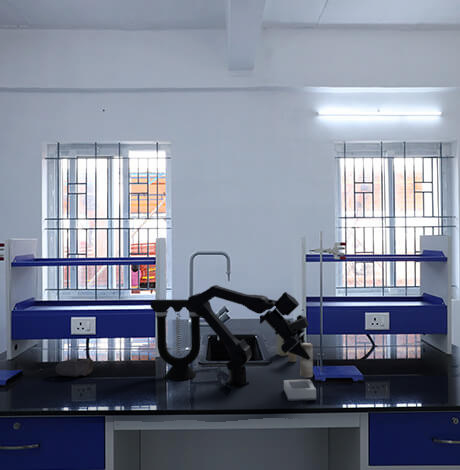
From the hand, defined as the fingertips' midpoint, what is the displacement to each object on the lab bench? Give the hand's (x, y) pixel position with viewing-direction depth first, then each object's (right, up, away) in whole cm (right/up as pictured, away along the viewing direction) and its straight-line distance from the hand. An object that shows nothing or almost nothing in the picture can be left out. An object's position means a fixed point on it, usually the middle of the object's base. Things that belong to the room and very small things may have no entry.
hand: (310, 357), depth 147 cm
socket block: (-4, -12, -3) cm, 13 cm away
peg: (-1, -7, +1) cm, 7 cm away
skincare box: (-3, -12, +45) cm, 47 cm away
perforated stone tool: (-91, -14, +20) cm, 94 cm away
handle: (-1, -12, +34) cm, 36 cm away
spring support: (-49, -13, +18) cm, 54 cm away
